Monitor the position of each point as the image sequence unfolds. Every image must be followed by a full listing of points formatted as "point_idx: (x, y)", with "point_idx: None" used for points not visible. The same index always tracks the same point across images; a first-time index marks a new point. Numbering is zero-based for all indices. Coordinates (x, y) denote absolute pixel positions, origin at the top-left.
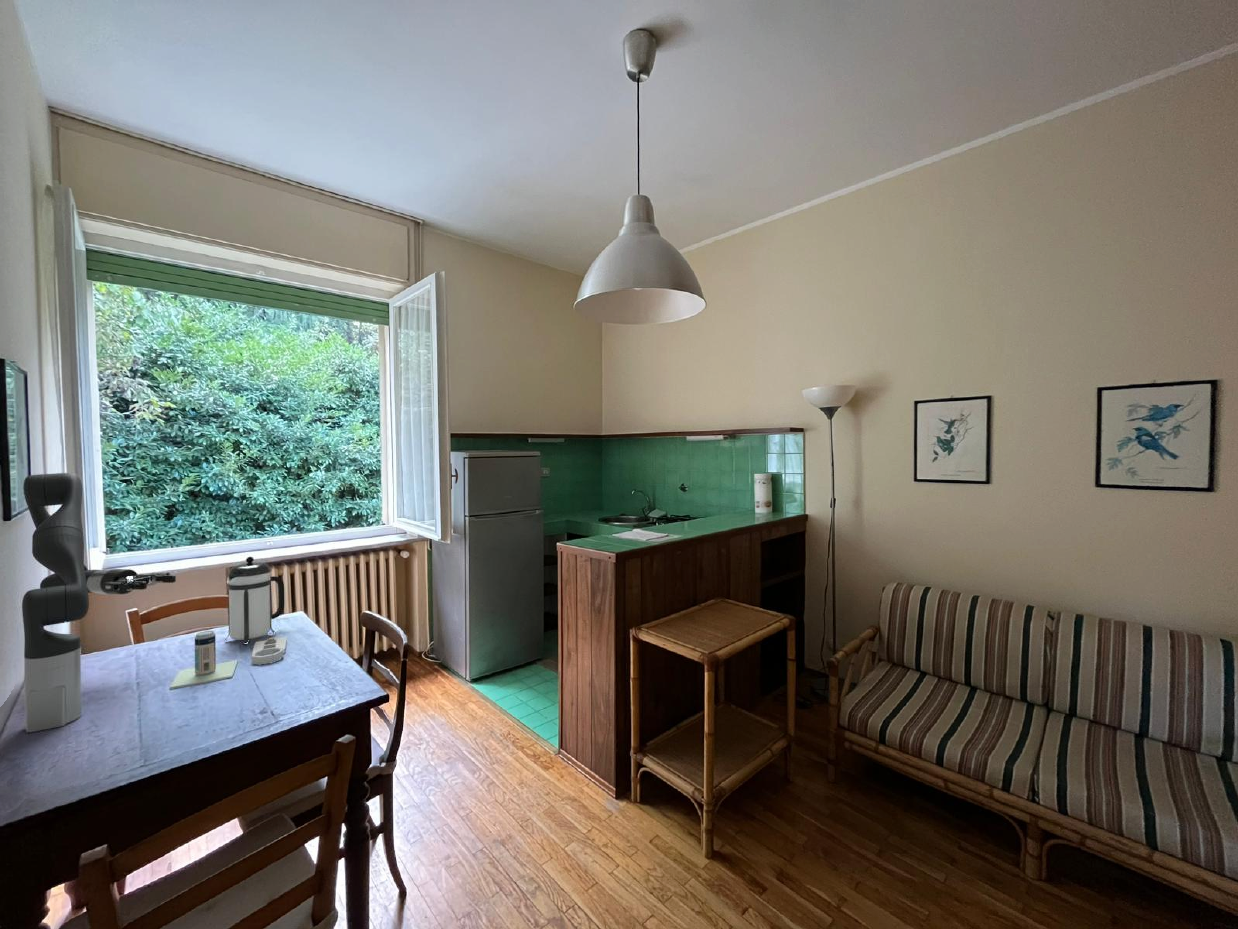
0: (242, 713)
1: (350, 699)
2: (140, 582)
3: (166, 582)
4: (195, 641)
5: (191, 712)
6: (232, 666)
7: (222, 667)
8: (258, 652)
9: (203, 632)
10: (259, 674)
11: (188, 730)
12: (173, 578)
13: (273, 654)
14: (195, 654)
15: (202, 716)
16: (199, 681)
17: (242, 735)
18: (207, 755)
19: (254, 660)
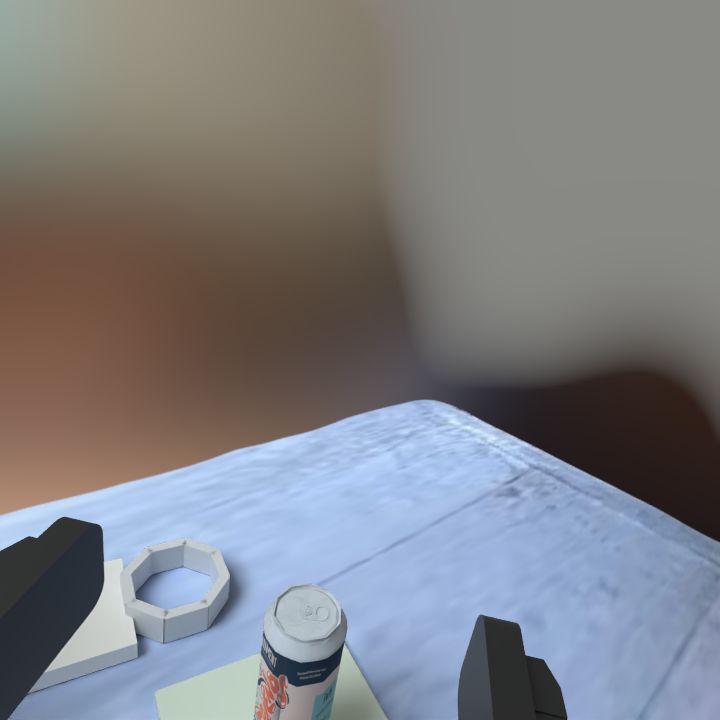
0: (527, 517)
1: (447, 416)
2: (526, 673)
3: (23, 695)
4: (333, 660)
5: (556, 610)
6: (234, 672)
7: (235, 708)
8: (154, 608)
9: (288, 627)
10: (315, 569)
11: (616, 570)
12: (100, 547)
13: (214, 549)
14: (324, 708)
15: (562, 577)
16: (379, 709)
17: (588, 491)
18: (652, 507)
19: (215, 607)
